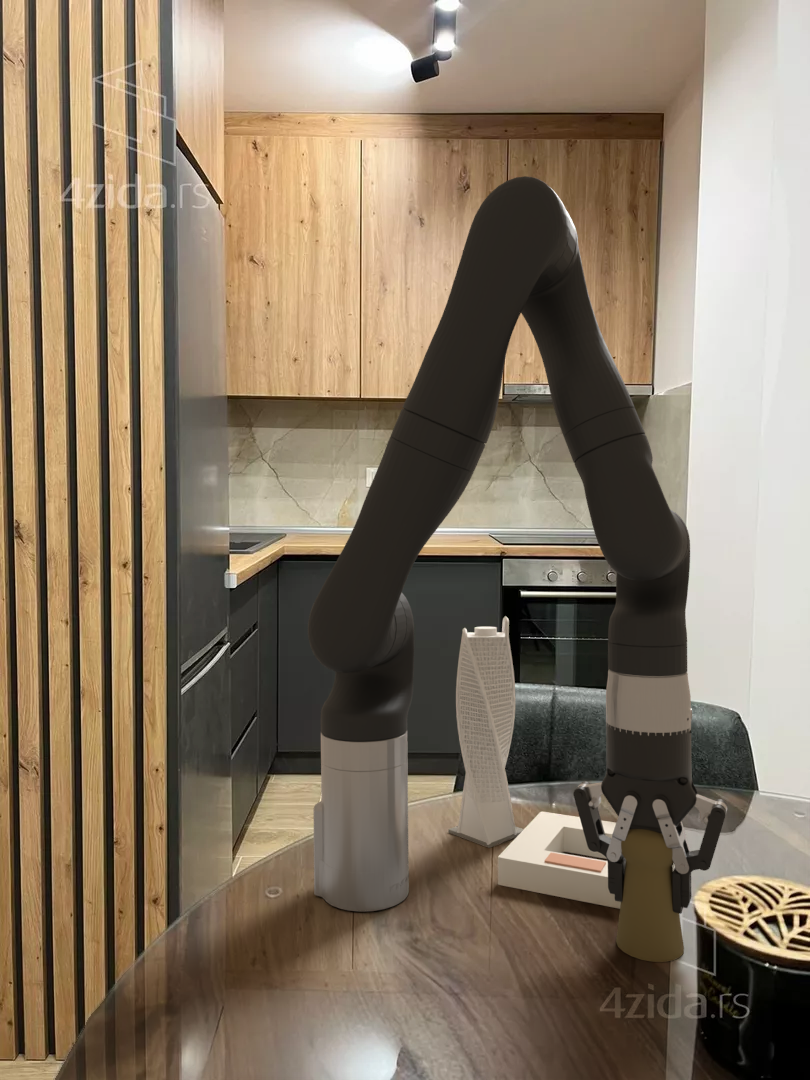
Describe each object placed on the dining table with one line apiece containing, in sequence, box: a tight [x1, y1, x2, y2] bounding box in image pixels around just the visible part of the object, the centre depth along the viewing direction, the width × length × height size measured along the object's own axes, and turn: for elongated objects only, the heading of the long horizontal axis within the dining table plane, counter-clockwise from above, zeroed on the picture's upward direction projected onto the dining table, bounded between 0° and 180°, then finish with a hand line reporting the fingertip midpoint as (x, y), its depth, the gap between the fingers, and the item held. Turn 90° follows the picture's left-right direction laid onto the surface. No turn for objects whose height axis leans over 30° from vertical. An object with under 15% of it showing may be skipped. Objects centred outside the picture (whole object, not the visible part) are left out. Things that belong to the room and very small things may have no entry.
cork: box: [615, 829, 685, 963], centre depth 74 cm, size 6×6×11 cm
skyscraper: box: [448, 615, 525, 849], centre depth 101 cm, size 8×8×28 cm
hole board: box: [497, 811, 621, 910], centre depth 90 cm, size 16×16×3 cm
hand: (649, 903), depth 74 cm, fingers closed on cork, 4 cm apart
